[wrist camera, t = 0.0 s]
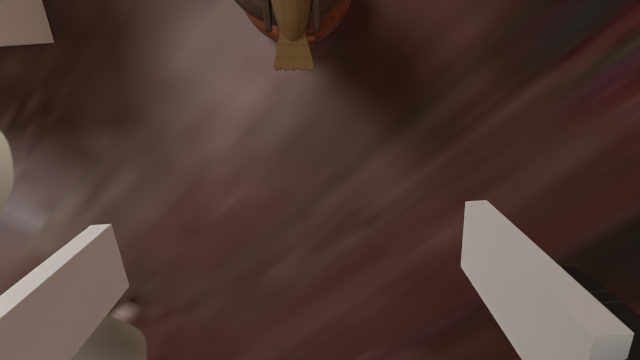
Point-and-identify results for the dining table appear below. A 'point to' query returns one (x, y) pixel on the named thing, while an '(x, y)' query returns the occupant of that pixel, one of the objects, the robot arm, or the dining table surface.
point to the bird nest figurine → (295, 26)
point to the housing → (23, 23)
